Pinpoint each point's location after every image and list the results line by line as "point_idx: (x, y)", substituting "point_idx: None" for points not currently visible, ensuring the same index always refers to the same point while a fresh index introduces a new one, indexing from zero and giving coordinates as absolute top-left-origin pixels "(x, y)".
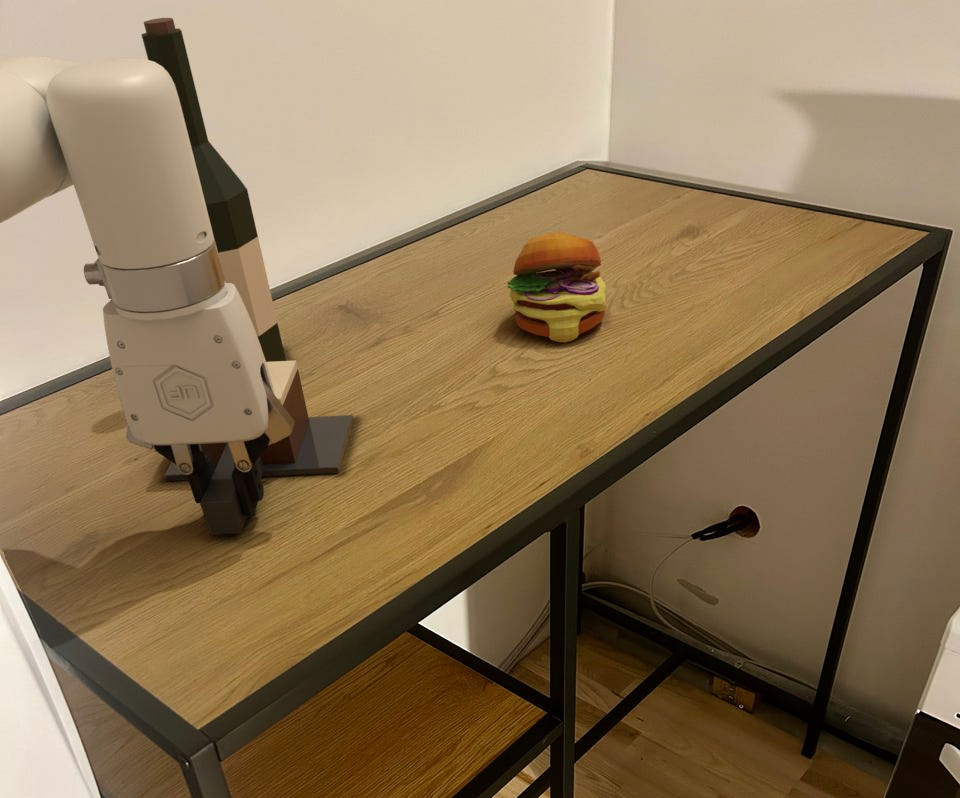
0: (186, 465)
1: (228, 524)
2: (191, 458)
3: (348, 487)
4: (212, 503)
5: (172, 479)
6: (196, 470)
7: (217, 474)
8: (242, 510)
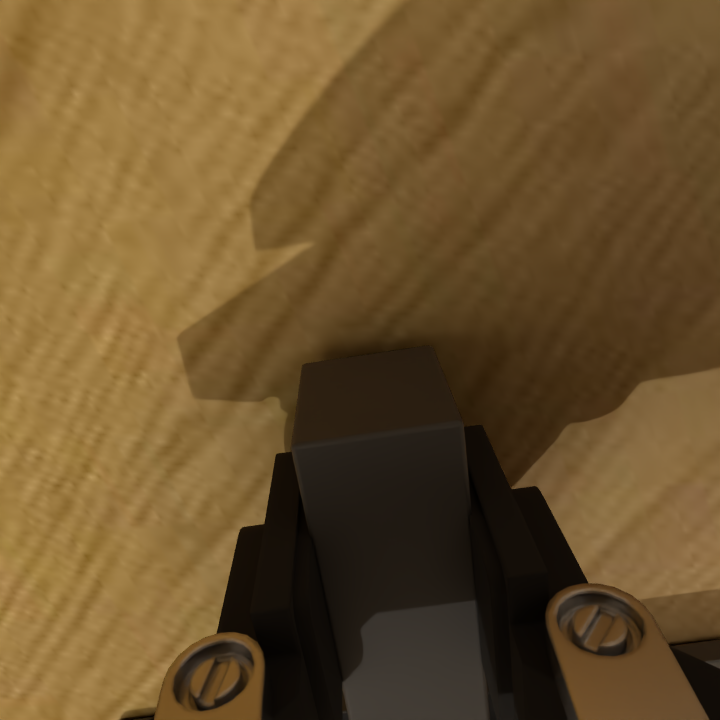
0: (595, 641)
1: (342, 377)
2: (564, 693)
3: (42, 661)
4: (395, 426)
5: (702, 646)
6: (535, 623)
7: (458, 637)
8: None
